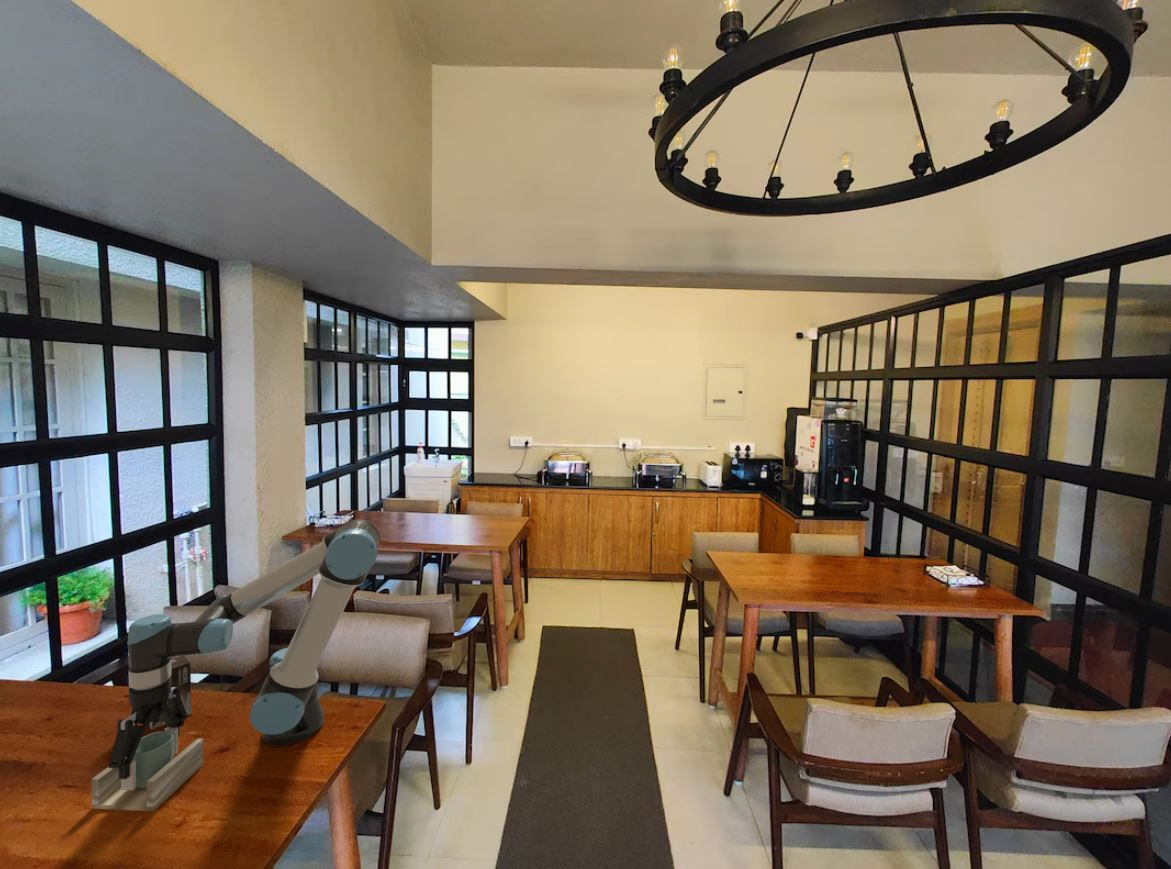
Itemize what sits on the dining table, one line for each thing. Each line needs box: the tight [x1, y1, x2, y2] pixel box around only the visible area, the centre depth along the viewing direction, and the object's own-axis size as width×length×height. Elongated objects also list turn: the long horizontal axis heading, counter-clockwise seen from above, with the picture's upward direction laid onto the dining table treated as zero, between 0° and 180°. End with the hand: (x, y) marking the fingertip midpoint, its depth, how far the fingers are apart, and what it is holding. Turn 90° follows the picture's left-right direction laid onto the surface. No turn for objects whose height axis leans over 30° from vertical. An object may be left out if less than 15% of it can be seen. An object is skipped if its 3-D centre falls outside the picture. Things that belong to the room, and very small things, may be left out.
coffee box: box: [149, 655, 193, 730], centre depth 138 cm, size 9×6×16 cm
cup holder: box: [91, 737, 204, 812], centre depth 114 cm, size 14×14×7 cm
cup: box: [132, 730, 175, 789], centre depth 114 cm, size 8×8×10 cm
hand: (151, 770), depth 114 cm, fingers open, 10 cm apart
